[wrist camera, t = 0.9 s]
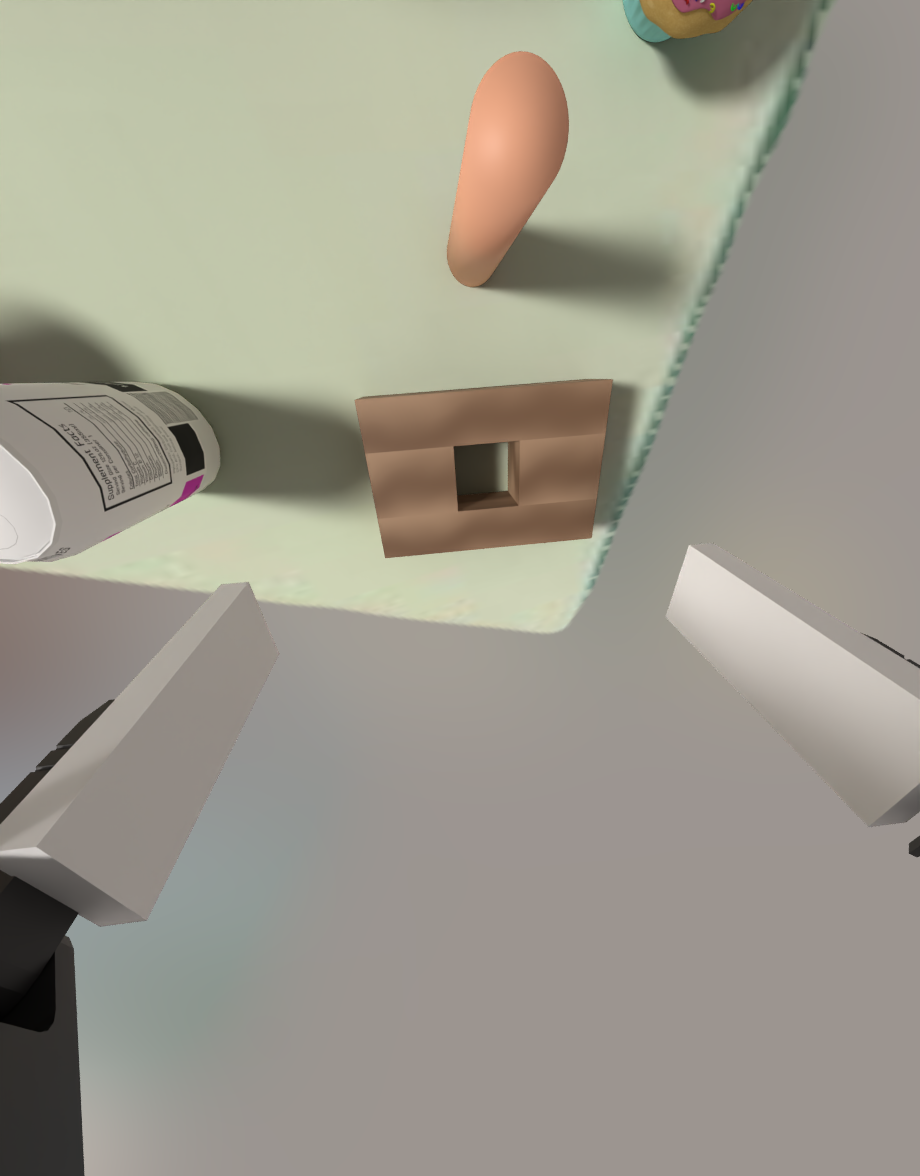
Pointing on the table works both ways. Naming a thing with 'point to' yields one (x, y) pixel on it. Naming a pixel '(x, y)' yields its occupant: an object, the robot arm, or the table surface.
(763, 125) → the table surface
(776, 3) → the table surface
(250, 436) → the table surface
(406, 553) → the hole block
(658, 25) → the cupcake
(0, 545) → the supplement can
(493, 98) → the dowel pin
